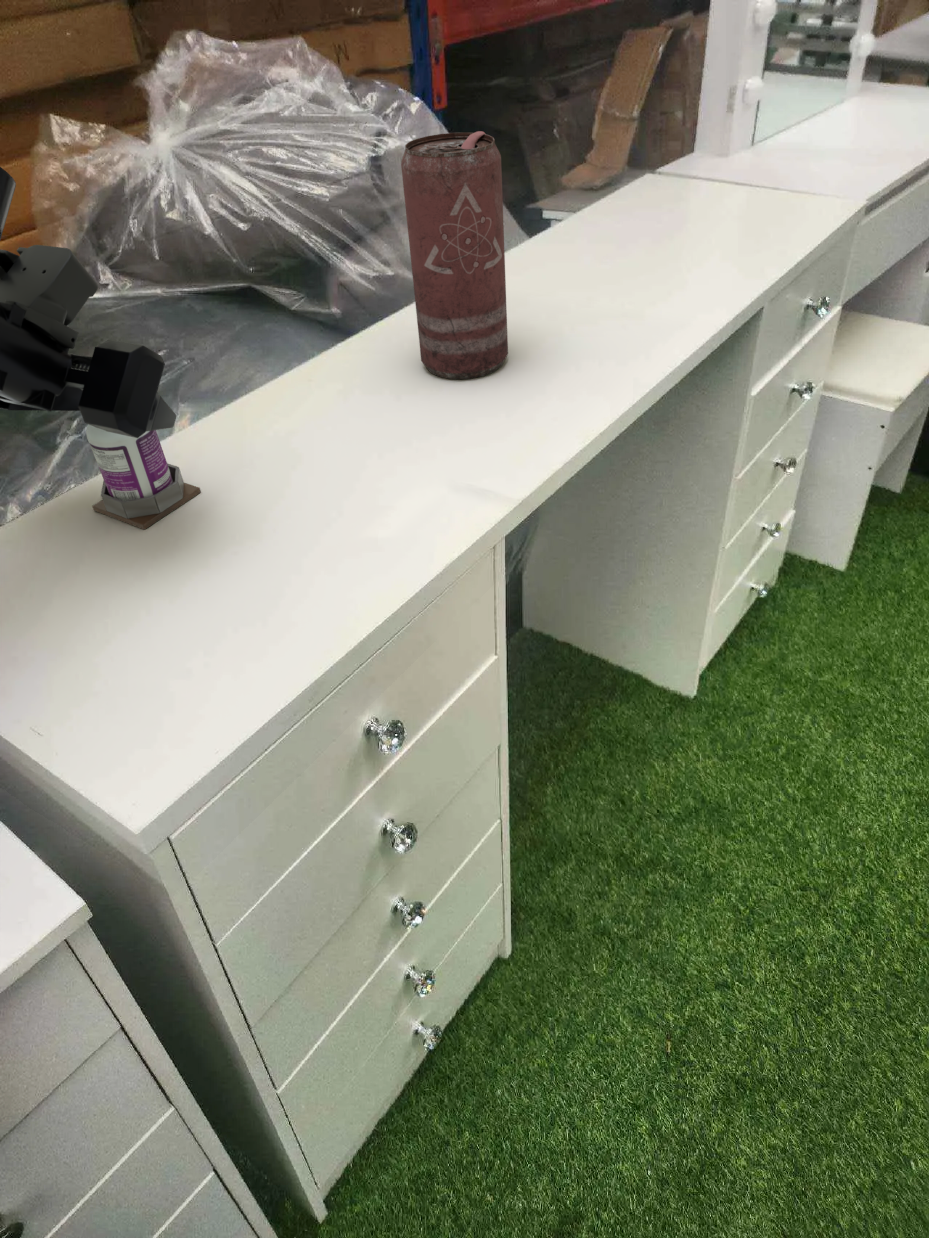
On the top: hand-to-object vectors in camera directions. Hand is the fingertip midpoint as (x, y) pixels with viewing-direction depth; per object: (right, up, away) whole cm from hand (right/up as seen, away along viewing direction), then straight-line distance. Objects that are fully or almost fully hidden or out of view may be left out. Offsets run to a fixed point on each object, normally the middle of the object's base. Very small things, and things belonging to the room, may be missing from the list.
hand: (131, 412), depth 72 cm
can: (+28, +11, +22) cm, 37 cm away
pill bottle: (0, -7, +4) cm, 8 cm away
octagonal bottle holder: (0, -7, +4) cm, 8 cm away
